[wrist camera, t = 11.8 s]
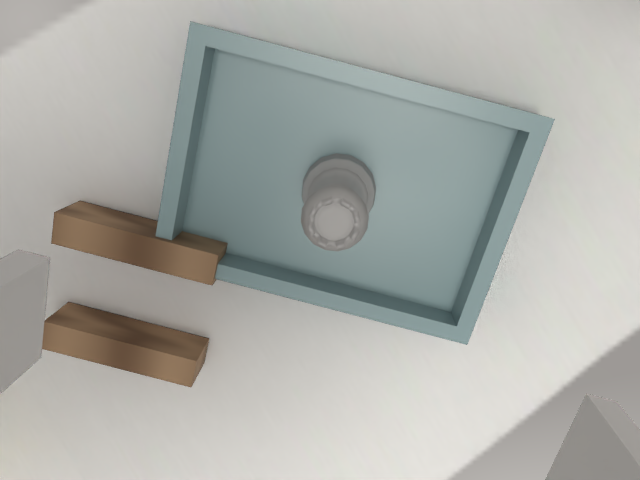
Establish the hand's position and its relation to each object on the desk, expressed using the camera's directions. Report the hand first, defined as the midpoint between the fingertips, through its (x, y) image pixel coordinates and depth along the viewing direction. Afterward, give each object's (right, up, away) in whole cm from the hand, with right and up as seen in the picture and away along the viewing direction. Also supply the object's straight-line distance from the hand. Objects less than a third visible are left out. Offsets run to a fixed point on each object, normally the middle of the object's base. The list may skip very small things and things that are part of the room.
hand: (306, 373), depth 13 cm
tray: (+2, +7, +20) cm, 21 cm away
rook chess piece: (+1, +6, +19) cm, 20 cm away
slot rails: (-12, 0, +23) cm, 25 cm away
